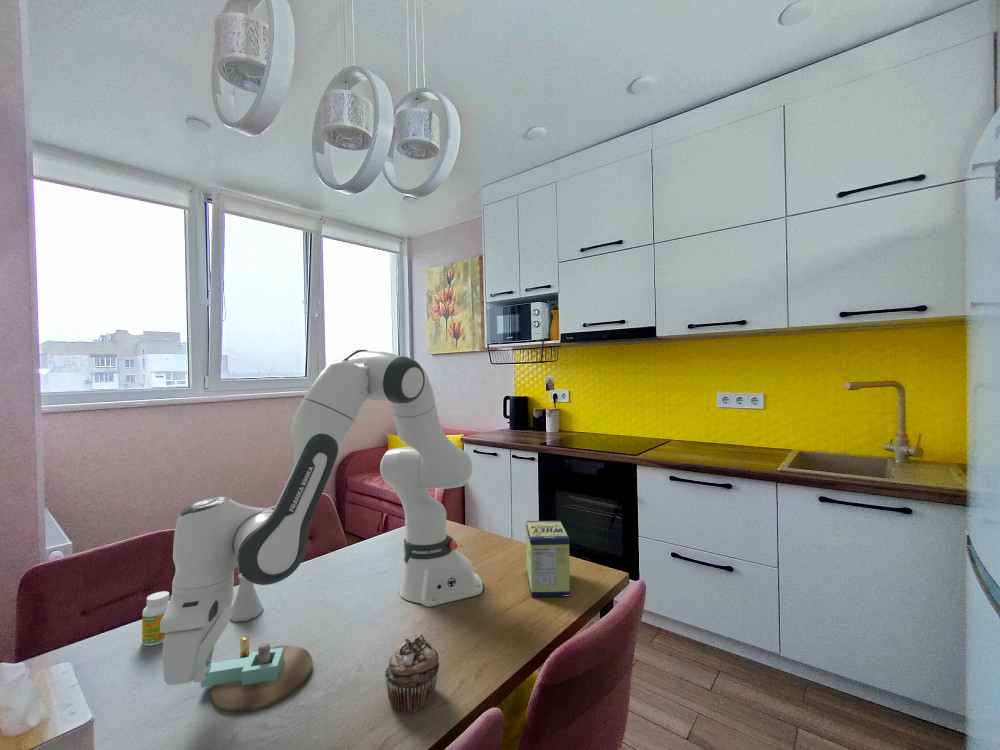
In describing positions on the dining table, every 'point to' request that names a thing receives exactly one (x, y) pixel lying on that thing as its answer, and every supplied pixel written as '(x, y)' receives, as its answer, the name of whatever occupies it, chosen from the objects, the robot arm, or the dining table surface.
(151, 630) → the supplement bottle
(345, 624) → the dining table surface
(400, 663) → the cupcake
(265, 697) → the disc base
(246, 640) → the dowel
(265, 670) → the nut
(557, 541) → the protein box
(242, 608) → the flask
